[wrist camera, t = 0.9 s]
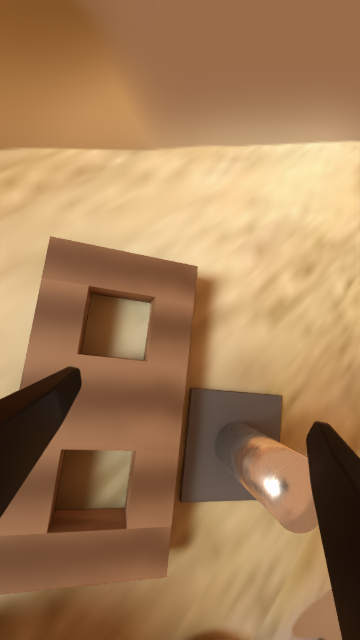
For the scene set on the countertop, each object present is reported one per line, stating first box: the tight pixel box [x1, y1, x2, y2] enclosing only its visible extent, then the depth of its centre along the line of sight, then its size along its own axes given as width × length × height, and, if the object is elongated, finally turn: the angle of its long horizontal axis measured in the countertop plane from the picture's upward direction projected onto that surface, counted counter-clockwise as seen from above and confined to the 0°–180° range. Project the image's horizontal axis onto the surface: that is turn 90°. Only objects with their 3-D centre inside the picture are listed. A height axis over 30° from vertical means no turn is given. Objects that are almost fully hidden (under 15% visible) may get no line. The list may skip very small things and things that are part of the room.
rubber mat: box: [180, 388, 282, 502], centre depth 27 cm, size 11×11×1 cm
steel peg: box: [215, 422, 319, 533], centre depth 22 cm, size 5×5×10 cm
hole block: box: [0, 236, 198, 594], centre depth 24 cm, size 28×14×3 cm, turn 174°
